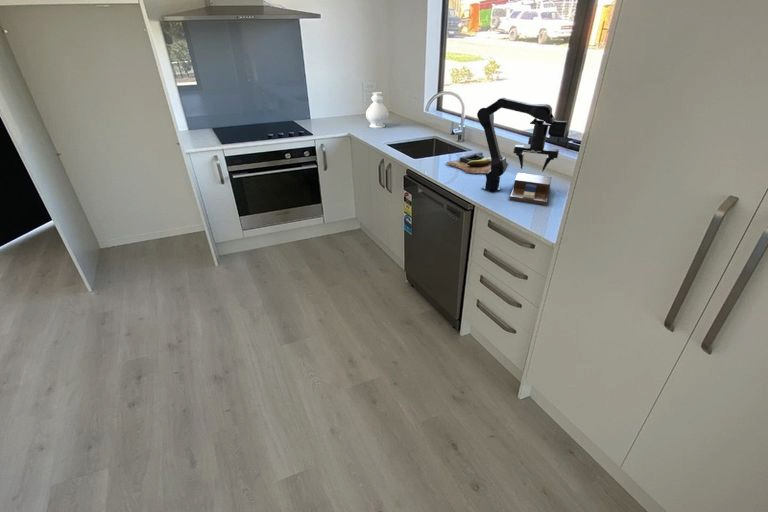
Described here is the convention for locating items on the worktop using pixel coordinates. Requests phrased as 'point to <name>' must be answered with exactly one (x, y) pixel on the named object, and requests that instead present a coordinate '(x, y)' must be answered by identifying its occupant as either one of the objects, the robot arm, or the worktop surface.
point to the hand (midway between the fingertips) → (532, 169)
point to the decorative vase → (377, 111)
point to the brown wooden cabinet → (540, 181)
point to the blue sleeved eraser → (529, 191)
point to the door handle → (472, 157)
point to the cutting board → (474, 165)
